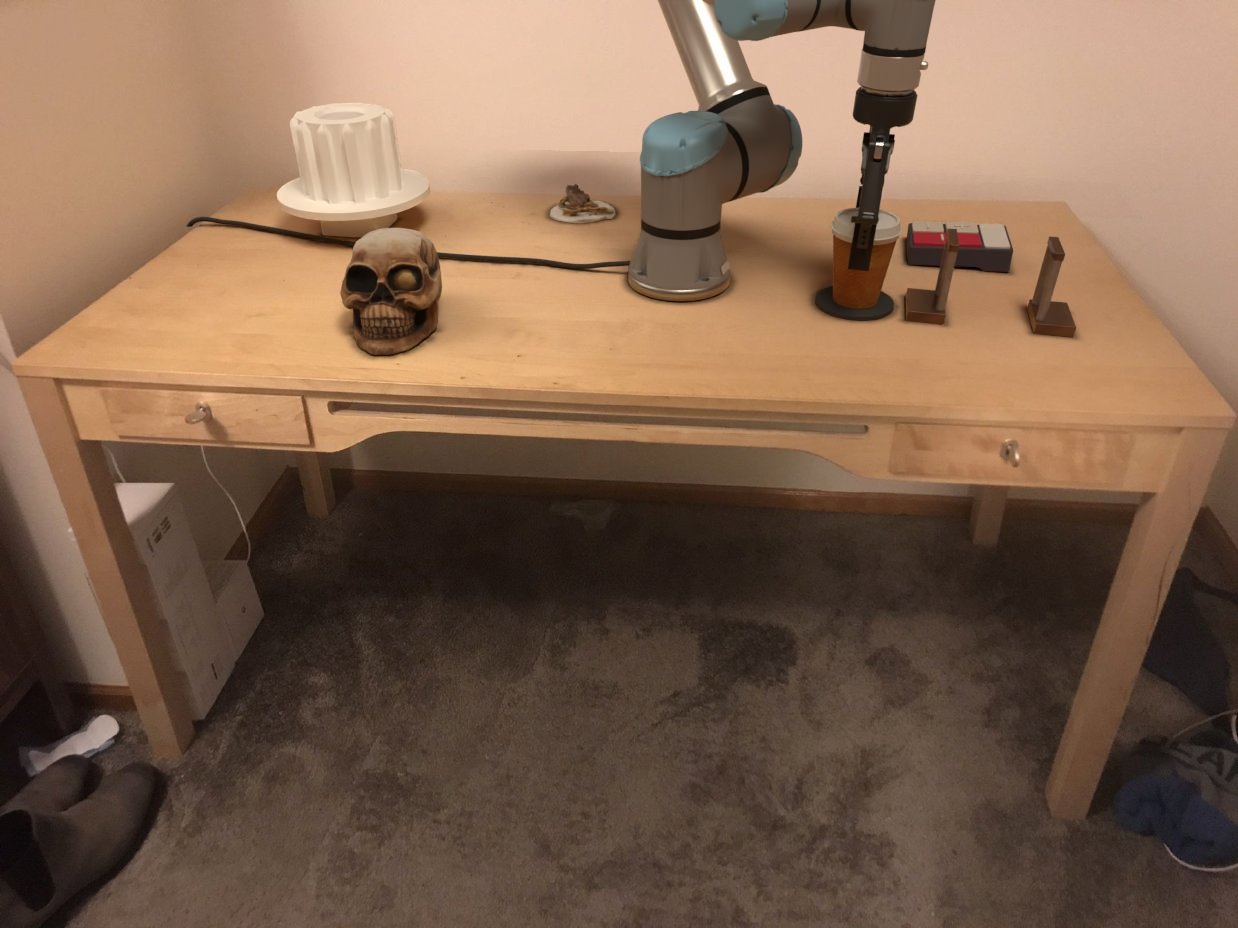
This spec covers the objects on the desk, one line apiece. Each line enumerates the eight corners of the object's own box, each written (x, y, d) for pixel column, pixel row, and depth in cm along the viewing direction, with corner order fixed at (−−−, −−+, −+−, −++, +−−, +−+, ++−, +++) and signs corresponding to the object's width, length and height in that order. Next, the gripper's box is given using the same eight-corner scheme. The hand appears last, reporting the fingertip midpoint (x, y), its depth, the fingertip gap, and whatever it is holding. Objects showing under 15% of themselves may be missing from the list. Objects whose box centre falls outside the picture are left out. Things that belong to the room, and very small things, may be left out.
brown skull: (374, 360, 115) (355, 257, 109) (325, 326, 128) (305, 232, 121) (481, 330, 123) (469, 233, 117) (425, 301, 136) (411, 212, 129)
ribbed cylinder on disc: (404, 258, 144) (386, 137, 133) (258, 250, 147) (229, 130, 136) (452, 206, 164) (440, 97, 153) (323, 200, 168) (302, 92, 157)
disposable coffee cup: (819, 310, 126) (830, 227, 119) (823, 283, 133) (833, 204, 127) (889, 317, 124) (904, 233, 117) (889, 289, 132) (903, 209, 125)
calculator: (908, 218, 147) (1006, 220, 144) (905, 243, 150) (1001, 246, 146) (910, 242, 138) (1014, 245, 135) (907, 268, 141) (1009, 272, 138)
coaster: (812, 316, 126) (812, 312, 125) (817, 285, 135) (818, 281, 134) (893, 324, 124) (894, 320, 123) (893, 292, 132) (894, 288, 132)
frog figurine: (538, 207, 164) (536, 186, 161) (598, 198, 168) (597, 177, 165) (561, 227, 155) (560, 205, 153) (624, 217, 159) (624, 195, 157)
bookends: (906, 320, 124) (920, 244, 118) (905, 297, 131) (919, 223, 124) (1073, 337, 120) (1097, 259, 114) (1064, 312, 126) (1087, 237, 120)
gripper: (920, 116, 102) (886, 289, 114) (916, 68, 121) (888, 221, 134) (852, 111, 103) (826, 283, 116) (860, 65, 123) (837, 216, 135)
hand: (859, 250), depth 125 cm, fingers open, 13 cm apart
